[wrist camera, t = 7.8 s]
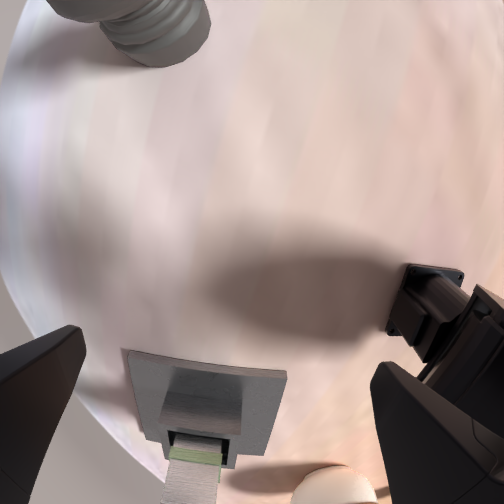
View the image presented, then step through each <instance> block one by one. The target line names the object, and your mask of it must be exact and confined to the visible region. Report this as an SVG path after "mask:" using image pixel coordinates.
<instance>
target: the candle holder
mask: <svg viewBox="0 0 504 504" xmlns="http://www.w3.org/2000/svg"><path fill="white" fill-rule="evenodd" d="M46 1H47V2H48V3H49V4H50V6H51V7H52V8H53V9H54V10H55V12H56V13H57V14H58V15H60V16H62V17H64V18H67V19H71V20H75V21H79V22H84V23H92V22H98V21H99V22H100V28H101V30H102V31H103V32H104V34H105V35H106V36H107V37H108V39H109V40H110V41H111V42H112V44H113V45H114V46H115V47H116V49H118V50H119V51H121V52H122V53H124V54H126V55H127V56H129V57H130V58H132V59H133V60H135V61H137V62H139V63H141V64H143V65H146V66H148V67H168V66H171V65H174V64H177V63H180V62H183V61H184V60H186V59H187V58H188V57H190V56H191V55H193V54H194V53H196V52H197V51H198V50H199V49H200V47H201V46H202V45H203V43H204V42H205V41H206V39H207V38H208V34H209V30H210V27H211V21H210V17H209V13H208V9H207V6H206V4H205V1H204V0H46Z"/></svg>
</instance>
